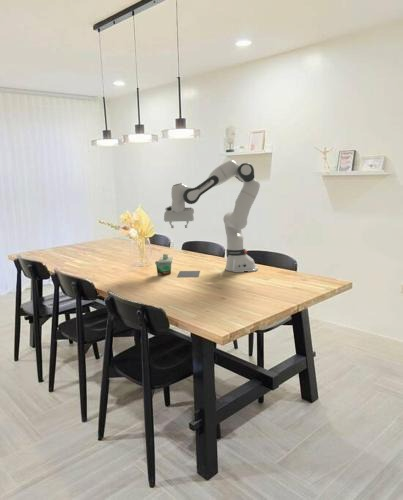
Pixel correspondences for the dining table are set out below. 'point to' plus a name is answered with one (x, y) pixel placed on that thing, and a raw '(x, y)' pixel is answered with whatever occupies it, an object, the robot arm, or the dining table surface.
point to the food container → (163, 268)
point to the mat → (188, 274)
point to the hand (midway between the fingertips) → (179, 227)
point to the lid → (165, 259)
